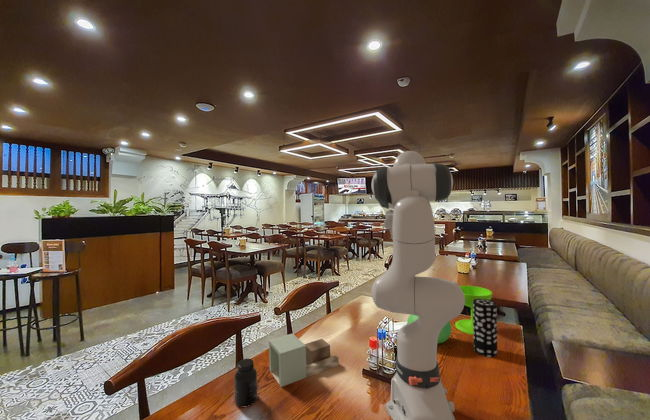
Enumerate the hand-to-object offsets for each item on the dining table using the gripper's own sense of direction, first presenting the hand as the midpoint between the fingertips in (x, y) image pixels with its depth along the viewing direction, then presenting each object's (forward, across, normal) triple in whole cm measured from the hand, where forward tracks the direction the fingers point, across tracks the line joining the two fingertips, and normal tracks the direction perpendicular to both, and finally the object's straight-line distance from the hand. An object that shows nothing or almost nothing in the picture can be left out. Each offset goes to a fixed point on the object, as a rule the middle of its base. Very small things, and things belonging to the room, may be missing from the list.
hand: (402, 241), depth 130 cm
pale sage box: (+39, -12, -61) cm, 74 cm away
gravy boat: (+37, +23, -9) cm, 45 cm away
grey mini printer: (+39, -9, -56) cm, 69 cm away
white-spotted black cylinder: (+32, +44, -5) cm, 54 cm away
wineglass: (+36, +37, +16) cm, 54 cm away
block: (+39, -7, -50) cm, 64 cm away
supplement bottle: (+38, -14, -78) cm, 88 cm away
